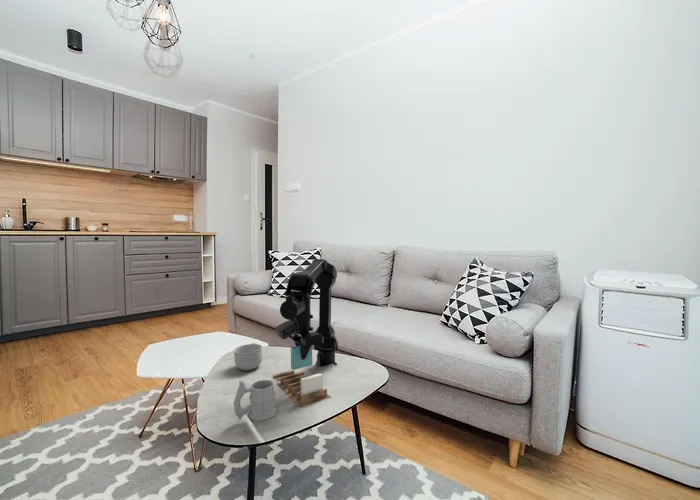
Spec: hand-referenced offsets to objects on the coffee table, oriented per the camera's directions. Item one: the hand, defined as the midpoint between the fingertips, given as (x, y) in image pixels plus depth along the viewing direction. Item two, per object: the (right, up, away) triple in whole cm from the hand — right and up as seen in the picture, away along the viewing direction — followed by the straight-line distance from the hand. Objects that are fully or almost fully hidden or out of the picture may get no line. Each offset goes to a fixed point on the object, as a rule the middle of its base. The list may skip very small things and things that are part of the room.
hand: (302, 358), depth 112 cm
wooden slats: (-8, -11, +12) cm, 18 cm away
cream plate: (+4, -11, -5) cm, 13 cm away
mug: (-11, -13, -14) cm, 23 cm away
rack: (0, -12, +1) cm, 12 cm away
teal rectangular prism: (0, -3, 0) cm, 3 cm away
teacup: (-24, -11, +24) cm, 36 cm away
